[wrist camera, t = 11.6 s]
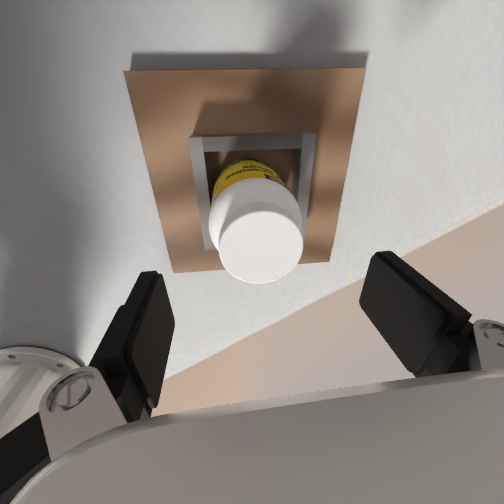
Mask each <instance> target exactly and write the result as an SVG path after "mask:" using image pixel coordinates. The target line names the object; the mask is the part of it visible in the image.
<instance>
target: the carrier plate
mask: <svg viewBox="0 0 504 504" xmlns="http://www.w3.org/2000/svg"><path fill="white" fill-rule="evenodd" d="M364 72H365V68H319V69H232V70H146V71H124V75H125V79H126V83H127V87H128V91H129V95H130V100H131V104H132V108H133V112H134V116H135V120H136V124H137V128H138V132H139V136H140V140H141V144H142V148H143V152H144V156H145V160H146V164H147V168H148V172H149V176H150V180H151V184H152V189H153V193H154V197H155V201H156V205H157V209H158V213H159V217H160V221H161V225H162V229H163V233H164V237H165V241H166V245H167V249H168V253H169V257H170V261H171V265H172V269H173V273H183V272H197V271H210V270H224V269H225V267H224V266H223V264H222V262H221V260H220V256H219V251H218V250H217V249H216V247H215V245H214V244H213V242H212V239H211V237H210V233H209V214H210V209H211V203H212V197H213V191H214V186H215V182H216V179H217V177H218V175H219V173H220V172H221V171H222V169H223V168H224V167H225V166H227V165H228V164H229V163H231V162H233V161H235V160H237V159H241V158H254V159H258V160H261V161H263V162H265V163H266V164H268V165H269V166H270V167H271V168H272V169H273V170H274V171H275V172H276V174H277V175H278V176H279V178H280V179H281V180H282V181H283V183H284V184H285V185H286V187H287V188H288V189H289V191H290V192H291V193H292V194H293V196H294V198H295V199H296V201H297V203H298V205H299V208H300V211H301V217H302V225H301V233H302V237H303V252H302V255H301V258H300V260H299V262H298V263H297V264H305V263H319V262H329V260H330V255H331V250H332V244H333V239H334V233H335V228H336V223H337V217H338V212H339V207H340V201H341V196H342V191H343V185H344V180H345V174H346V169H347V164H348V158H349V153H350V148H351V142H352V137H353V131H354V126H355V121H356V115H357V110H358V105H359V99H360V94H361V88H362V83H363V78H364Z"/></svg>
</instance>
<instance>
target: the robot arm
mask: <svg viewBox="0 0 504 504" xmlns="http://www.w3.org/2000/svg"><path fill="white" fill-rule="evenodd" d="M359 303H360V306H361V308H362V309H363V311H364V312H365V313H366V315H367V316H368V317H369V319H370V320H371V322H372V323H373V324H374V326H375V327H376V328H377V330H378V331H379V332H380V334H381V335H382V336H383V338H384V339H385V340H386V342H387V343H388V344H389V346H390V347H391V349H392V350H393V351H394V353H395V354H396V355H397V357H398V358H399V359H400V361H401V362H402V364H403V365H404V366H405V368H406V369H407V370H408V371H409V372H412V373H413V374H414V376H415V377H416V378H411V379H404V380H396V381H389V382H382V383H374V384H367V385H359V386H352V387H345V388H338V389H331V390H324V391H316V392H309V393H303V394H295V395H288V396H282V397H275V398H268V399H261V400H254V401H247V402H240V403H233V404H227V405H220V406H213V407H207V408H201V409H195V410H189V411H182V412H177V413H170V414H165V415H160V416H155V417H151V412H152V408H156V407H157V405H158V402H159V397H160V393H161V387H162V383H163V379H164V374H165V369H166V365H167V360H168V355H169V351H170V346H171V341H172V337H173V332H174V327H175V320H174V316H173V312H172V309H171V305H170V301H169V298H168V294H167V290H166V286H165V283H164V279H163V276H162V274H158V273H157V271H146V272H141V273H140V275H139V277H138V279H137V281H136V283H135V285H134V287H133V289H132V291H131V293H130V295H129V297H128V299H127V301H126V303H125V305H122V306H120V307H119V309H118V310H117V312H116V314H115V316H114V318H113V320H112V322H111V324H110V325H109V327H108V329H107V331H106V333H105V335H104V337H103V339H102V341H101V343H100V344H99V346H98V348H97V350H96V352H95V354H94V356H93V358H92V360H91V362H90V364H89V365H88V366H85V367H80V366H79V365H78V364H77V363H76V362H74V361H73V360H71V359H70V358H68V357H66V356H64V355H62V354H59V353H57V352H54V351H50V350H46V349H42V348H36V347H10V348H5V349H1V350H0V504H504V324H502V323H499V322H496V321H492V320H485V319H481V320H477V321H476V322H474V323H473V324H472V323H470V322H469V321H468V320H469V319H470V317H471V316H472V314H471V313H469V312H468V311H467V310H466V309H464V308H463V307H462V306H460V305H459V304H458V303H457V302H455V301H454V300H453V299H451V298H450V297H449V296H448V295H447V294H445V293H444V292H443V291H441V290H440V289H439V288H438V287H436V286H435V285H434V284H432V283H431V282H430V281H429V280H427V279H426V278H425V277H424V276H422V275H421V274H420V273H418V272H417V271H416V270H415V269H413V268H412V267H411V266H410V265H408V264H407V263H406V262H405V261H403V260H402V259H401V258H400V257H398V256H397V255H396V254H394V253H393V252H392V251H382V252H376V253H375V255H373V256H372V257H371V260H370V264H369V267H368V271H367V274H366V278H365V281H364V285H363V289H362V292H361V296H360V300H359ZM150 417H151V418H150Z"/></svg>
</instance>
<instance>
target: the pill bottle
mask: <svg viewBox="0 0 504 504" xmlns="http://www.w3.org/2000/svg"><path fill="white" fill-rule="evenodd" d="M301 225H302V217H301V211H300V208H299V205H298V203H297V201H296V199H295V198H294V196H293V194H292V193H291V192H290V191H289V189H288V188H287V187H286V185H285V184H284V183H283V181H282V180H281V179H280V178H279V176H278V175H277V174H276V172H275V171H274V170H273V169H272V168H271V167H270V166H269V165H268V164H266V163H265V162H263V161H261V160H258V159H254V158H241V159H237V160H235V161H233V162H231V163H229V164H228V165H227V166H225V167H224V168H223V169H222V171H221V172H220V173H219V175H218V177H217V179H216V182H215V186H214V191H213V197H212V203H211V209H210V214H209V233H210V237H211V239H212V242H213V244H214V245H215V247H216V249H217V250H218V251H219V256H220V260H221V262H222V264H223V266H224V267H225V269H226V270H227V271H228V272H229V273H230V274H231V275H232V276H234V277H235V278H237V279H239V280H242V281H245V282H248V283H257V284H260V283H268V282H272V281H275V280H278V279H280V278H282V277H284V276H285V275H287V274H288V273H289V272H290V271H292V270H293V268H294V267H295V266H296V265H297V263H298V262H299V260H300V258H301V255H302V252H303V237H302V233H301Z"/></svg>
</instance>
